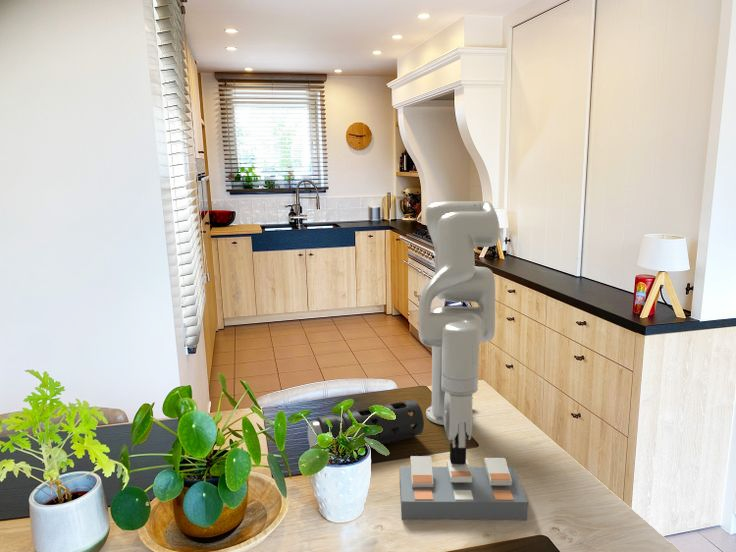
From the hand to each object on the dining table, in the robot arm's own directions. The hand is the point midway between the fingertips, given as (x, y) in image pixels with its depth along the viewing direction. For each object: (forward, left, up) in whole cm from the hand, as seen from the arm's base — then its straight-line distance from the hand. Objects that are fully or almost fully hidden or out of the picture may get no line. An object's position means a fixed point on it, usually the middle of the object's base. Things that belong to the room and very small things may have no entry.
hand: (457, 461), depth 121 cm
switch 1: (+6, -5, -3) cm, 9 cm away
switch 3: (-4, +7, -3) cm, 9 cm away
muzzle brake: (-1, -28, -7) cm, 29 cm away
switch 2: (+2, +1, -3) cm, 4 cm away
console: (+3, +2, -7) cm, 8 cm away
